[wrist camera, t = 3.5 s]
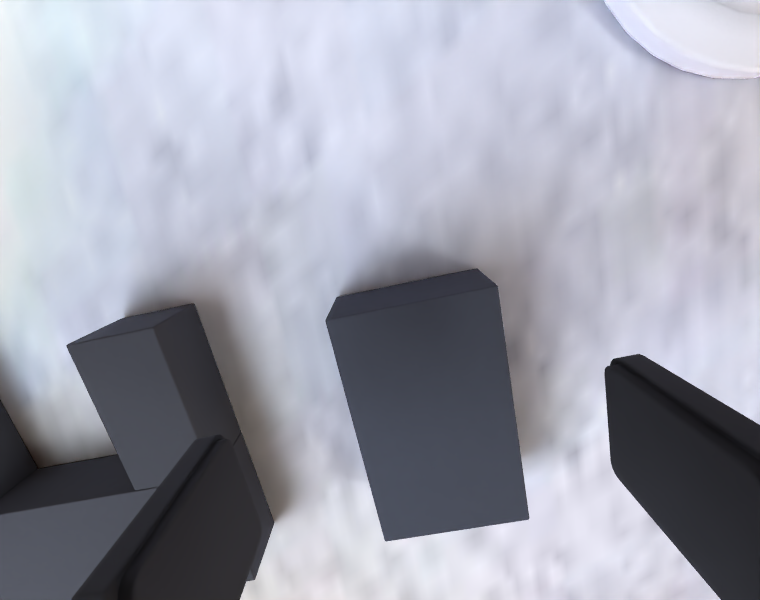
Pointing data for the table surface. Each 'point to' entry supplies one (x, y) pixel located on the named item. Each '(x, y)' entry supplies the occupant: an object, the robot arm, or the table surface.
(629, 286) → the table surface
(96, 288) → the table surface
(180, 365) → the base pad
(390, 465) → the pad
